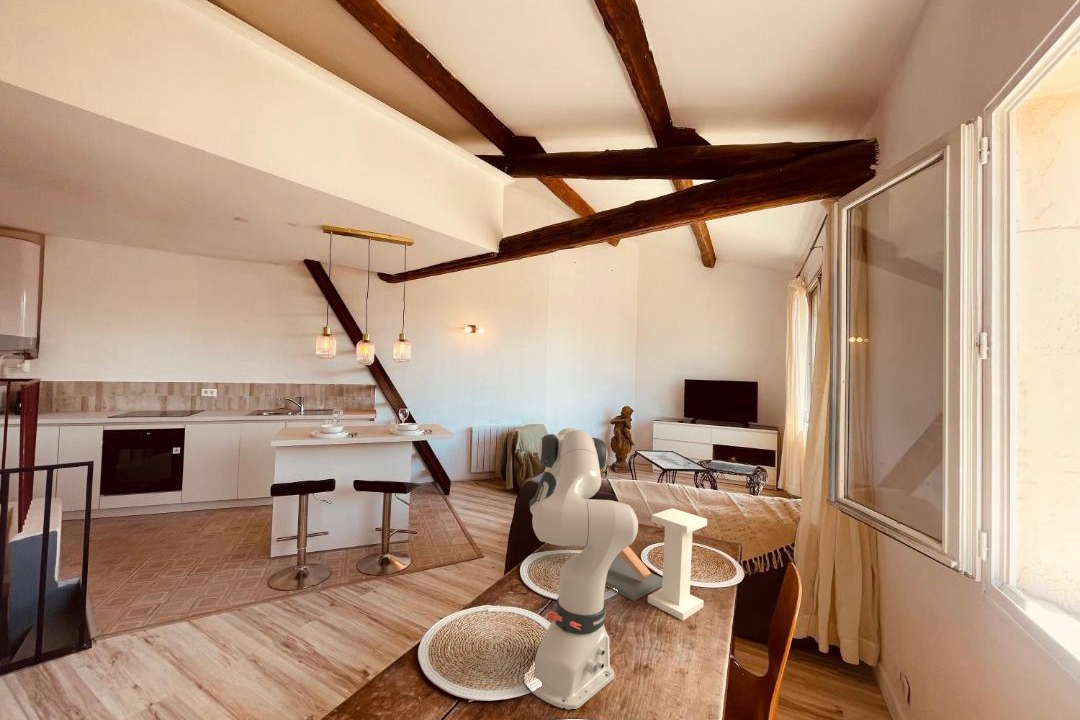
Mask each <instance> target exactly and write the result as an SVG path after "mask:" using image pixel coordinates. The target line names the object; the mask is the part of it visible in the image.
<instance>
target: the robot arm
mask: <svg viewBox="0 0 1080 720" xmlns="http://www.w3.org/2000/svg"><path fill="white" fill-rule="evenodd" d="M537 457H538V458H539V463H540V464H541V465H542V466H543V467H545V469H544V471H543V473H542V476H541V477H540V481H539V483H538V487H537V490H536V492H535V495H534V497H532V499H530V500H529V511H530V514H531V515H532V521H531V522H532V528H533V531H534V534H535V536H536V537H537V539H538V540H539V541H540V542H542V543H547V544H550V545H554V546H558V547H559V546H561V547H578V548H580V547H584V548H583V549H582V551H580V552H579V553H578V554H576V555H574V556H571V557H570V558H569V559H567V560H566V561H565V562H564V563H563V565H562V567H561V568H560V571H559V583H558V585H559V586H558V597H557V599H556V603H555V606H554V610H553V609H552V610H550V611H549V613H548V616H547V618H548V620H549V621H551V623H550V625H549V626H548V628H547V630H546V632H545V634H544V636H543V638H542V641H541V642H540V645H539V647H538V649H537V651H536V654H535V658H536V659H535V658H534V659H535V669H534V676H535V677H536V678H537V679H539V680H540V681H541V682H542V686H541V687H539V688H537V689H536V690H535V691H534V692H531V693H532V694H533V695H535V696H536V697H537V698H539V699H541V700H542V701H544V702H546V703H548V704H551V705H552V706H554V707H556V708H557V707H558V708H561V709H563V708H565V709H564V710H569V711H572V710H571V709H576V710H578V709H579V708H580V707H582V706H583V705H584V704H585V703H586V702H587V701H589V700H590V699H591V698H593V697H594V696H595V695H596V694H597V693H598V692H600V691H601V690H602V689H603V688H604V687H606V686H607V685H608V684H610V683H611V681H613V680H615V677H616V676H615V670H614V669H613V668H612V666H611V664H610V663H611V662H610V661H611V660H610V659H611V658H610V637H609V634H608V633H607V630H606V627H605V622H606V617H607V616H606V615H607V614H606V613H607V611H606V610H607V609H606V604H605V591H606V586H605V584H606V577H607V573H608V570H609V568H610V566H611V564H612V562H613V561H614V559H615V558H616V557H617V556H618V555H620V554H619V553H620V552H621V551H622V550H623V549H625V548H626V547H628V546H629V547H630V546H631V545H632V544H633V543H634V541H635V540H636V537H637V535H638V533H639V532H638V531H639V521H638V516H637V513H636V512H635V510H634V508H632V506H630V504H627V503H624V502H623V503H622V502H621V501H620V502H619V501H615V500H611V499H590V498H592V497H593V496H595V495H596V494H597V493H598V492H599V490H600V488H601V485H602V475H601V471H602V470H603V469H604V468H605V466H606V463H607V460H608V448H607V445H606V443H605V442H604V441H603V439H600V438H598V437H592V436H591V435H590V434H589V433H588V432H586V431H585V430H581V429H575V428H573V427H572V428H571V427H567V428H563V429H561V430H560V431H558V433H557V434H554V433H552V434H551V433H550V434H545V435H544V436H543V437H541V440H540V441H539V444H538V446H537ZM577 708H578V709H577Z"/></svg>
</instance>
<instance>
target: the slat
mask: <svg viewBox="0 0 1080 720" xmlns="http://www.w3.org/2000/svg"><path fill="white" fill-rule="evenodd" d="M618 555H620V557H622V558H621V559H622V560H624V561H626V562H627V564H628V565H629V566H630V567H631V569H632V570H633V571H634V572H635V573H636V575H637V576H638V577H639V578H640V580H641V581H642V580H644V579H646V578H648V577H649V576H650V575H651V573H652V572H651V571H650V570H649V569H648V567H647V566H646V565H645V564H644V562H643V561H641V559H640V558H639V557H638V555H636V553H635V552H634V551H633V549H632V548H630V545H629V546H628V547H626V548H625V549H623V550H622V551H621V552H620V553H619V554H618Z"/></svg>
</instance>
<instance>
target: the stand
mask: <svg viewBox="0 0 1080 720" xmlns="http://www.w3.org/2000/svg"><path fill="white" fill-rule="evenodd" d="M650 520H651V522H653V523H655V524H659V525H661V526H664V539H663V542H664V543H663V562H662V564H663V565H662V570H663V571H662V578H663V580H662V586H661V588H660V589H658V590H656V591H655V592H654V591H653V592H651V594H650V593H649V595H647V603H648V604H650V605H652V606H654V607H656V608H658V609H660V610H661V611H664V612H665V613H668V614H669V615H670V616H673V617H675V618H677V619H679V620H681V621H685V620H686V619H688V618H689V617H690V616H692V615H694V614H695V613H697V612H698V611H700V610H702V609H703V608H704V600H703V599H701V598H700V597H697V596H696V595H693V594H691V578H692V577H691V575H692V574H691V573H692V561H691V560H692V554H693V551H692V550H693V549H692V548H693V534H694V533H693V532H695V531H697V530H699V529H702V528H704V527H707V526H708V518H705V517H701V516H699V515H696V514H692V513H689V512H685V511H683V510H680V509H676V508H673V507H671V508H670V509H669V508H668V509H666V510H663V511H660V512H656V513H653V514H651V519H650Z"/></svg>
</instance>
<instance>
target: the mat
mask: <svg viewBox="0 0 1080 720" xmlns="http://www.w3.org/2000/svg"><path fill="white" fill-rule="evenodd" d="M662 580H663V577H661V576H659V575H656V574H654V573H652V572H651V575H650V576H649V577H648V578H646V579H644V580H642V581H641V580H640V578H639V577H638V576H637V575H636V573H635V572H634V571H633V570H632V569H631V567H630V566H629V565H628V564H627V562H626V561H625V560H624V559H623V558H619V557H617V556H616V558H615V559H614V561H613V562H612V564H611V566H610V568H609V570H608V573H607V577H606V584H605V585H607V586H609V587H612V588H615V589H617V590H618V592H617V593H618V594H619V595H622V596H624V597H626V598H627V599H628V600H629V599H630V600H631V601H633V602H634V601H636V600H638V599H640V598H642V597H644V596H646V595H647V594H650V593H653V592H654V591H655V590H657V589H659V588H662ZM607 586H606V587H607ZM609 587H608V588H609Z"/></svg>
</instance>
